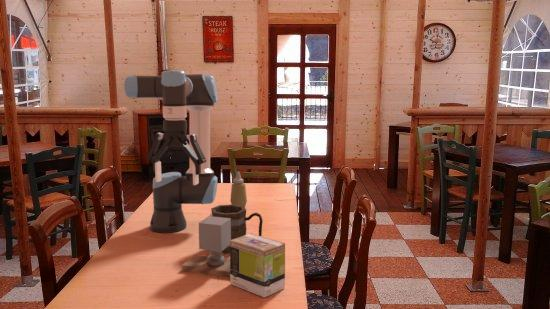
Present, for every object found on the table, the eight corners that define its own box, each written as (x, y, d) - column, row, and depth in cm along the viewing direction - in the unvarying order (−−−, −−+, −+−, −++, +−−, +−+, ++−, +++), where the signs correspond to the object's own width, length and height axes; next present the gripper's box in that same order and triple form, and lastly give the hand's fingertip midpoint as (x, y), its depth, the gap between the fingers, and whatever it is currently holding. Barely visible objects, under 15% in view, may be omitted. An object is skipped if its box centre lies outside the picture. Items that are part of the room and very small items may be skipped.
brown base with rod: (182, 270, 167) (180, 224, 164) (196, 259, 176) (194, 216, 173) (237, 278, 160) (236, 231, 158) (248, 267, 170) (248, 222, 167)
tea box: (286, 288, 154) (286, 242, 151) (263, 299, 146) (263, 251, 144) (251, 274, 164) (251, 231, 161) (229, 284, 156) (228, 239, 154)
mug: (207, 252, 183) (206, 213, 180) (216, 240, 196) (215, 203, 193) (259, 255, 180) (259, 215, 178) (265, 242, 194) (265, 205, 191)
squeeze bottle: (246, 210, 237) (246, 173, 234) (229, 210, 237) (229, 173, 234) (247, 206, 245) (247, 170, 242) (231, 205, 245) (230, 170, 242)
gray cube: (199, 249, 164) (198, 222, 163) (209, 241, 172) (209, 216, 170) (221, 251, 162) (221, 225, 160) (231, 243, 169) (230, 218, 168)
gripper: (134, 118, 160) (137, 182, 164) (205, 121, 153) (207, 188, 157) (146, 116, 167) (149, 177, 171) (215, 118, 161) (216, 182, 165)
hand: (177, 182), depth 164 cm, fingers open, 13 cm apart
